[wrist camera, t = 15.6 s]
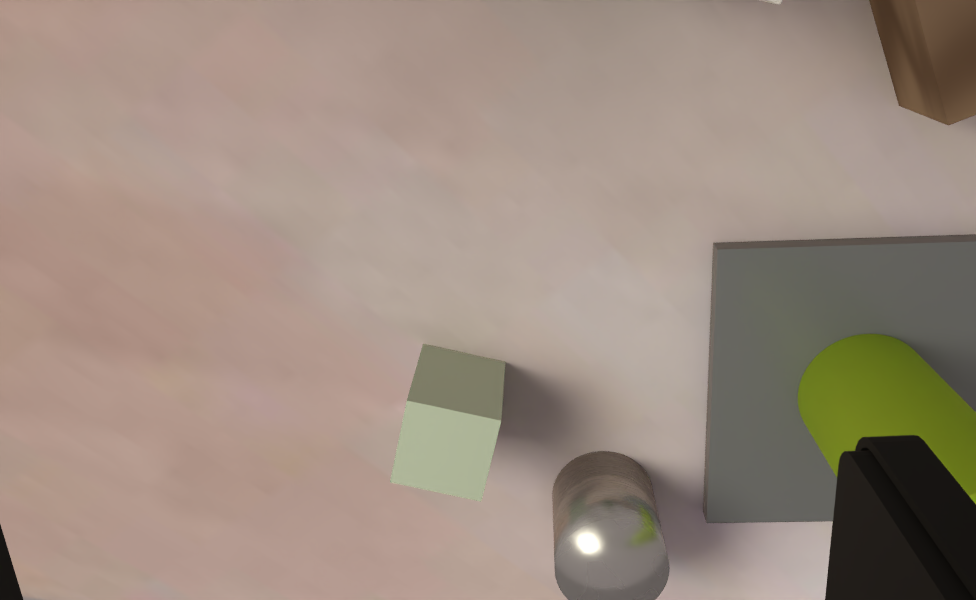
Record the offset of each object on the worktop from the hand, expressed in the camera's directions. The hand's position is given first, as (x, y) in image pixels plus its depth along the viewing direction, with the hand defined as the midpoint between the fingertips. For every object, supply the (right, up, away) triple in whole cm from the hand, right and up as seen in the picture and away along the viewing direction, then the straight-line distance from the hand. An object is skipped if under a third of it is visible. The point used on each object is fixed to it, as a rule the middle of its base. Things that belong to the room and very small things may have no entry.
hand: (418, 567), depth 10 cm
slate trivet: (+18, -1, +33) cm, 38 cm away
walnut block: (+19, +14, +28) cm, 37 cm away
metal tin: (+6, -7, +36) cm, 37 cm away
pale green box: (-1, -1, +34) cm, 34 cm away
